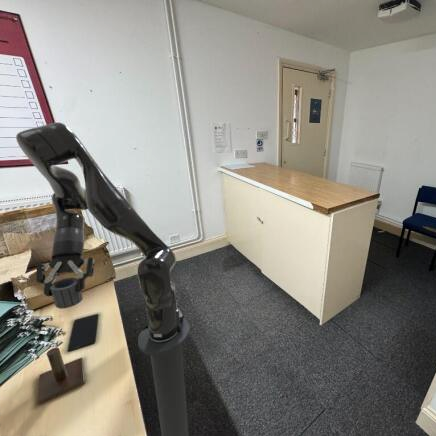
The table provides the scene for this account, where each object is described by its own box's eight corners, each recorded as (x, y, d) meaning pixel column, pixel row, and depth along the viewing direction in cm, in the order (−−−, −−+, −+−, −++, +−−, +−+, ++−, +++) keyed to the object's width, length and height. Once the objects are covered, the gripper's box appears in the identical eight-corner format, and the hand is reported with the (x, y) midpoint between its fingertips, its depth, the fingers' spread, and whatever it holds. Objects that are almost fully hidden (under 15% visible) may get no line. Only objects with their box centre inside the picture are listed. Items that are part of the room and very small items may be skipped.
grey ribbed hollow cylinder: (82, 292, 80) (77, 275, 77) (83, 303, 75) (78, 285, 73) (56, 299, 76) (50, 281, 73) (55, 311, 71) (49, 292, 69)
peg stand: (82, 359, 72) (74, 332, 68) (84, 383, 66) (76, 354, 62) (40, 377, 66) (29, 348, 62) (38, 404, 60) (26, 374, 56)
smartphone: (66, 351, 74) (74, 319, 85) (67, 353, 74) (74, 321, 85) (95, 342, 77) (98, 313, 89) (95, 344, 78) (98, 314, 89)
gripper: (33, 242, 72) (25, 297, 66) (92, 237, 78) (90, 286, 73) (45, 249, 78) (39, 300, 72) (99, 244, 85) (97, 290, 79)
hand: (64, 293), depth 73 cm, fingers closed on grey ribbed hollow cylinder, 6 cm apart
